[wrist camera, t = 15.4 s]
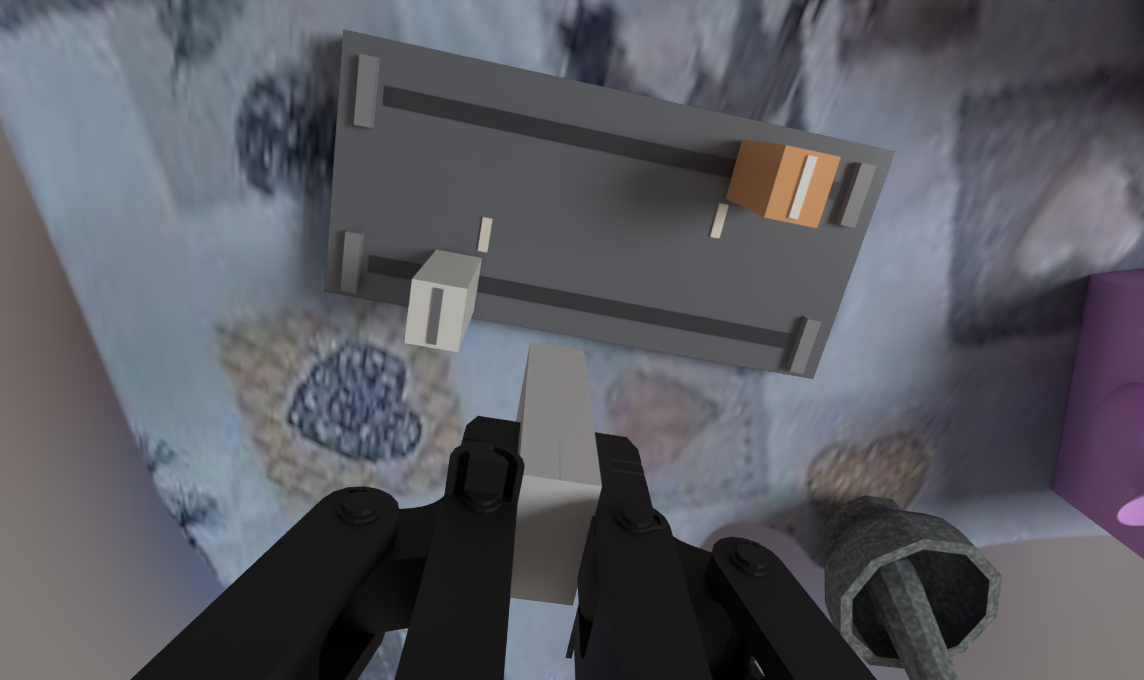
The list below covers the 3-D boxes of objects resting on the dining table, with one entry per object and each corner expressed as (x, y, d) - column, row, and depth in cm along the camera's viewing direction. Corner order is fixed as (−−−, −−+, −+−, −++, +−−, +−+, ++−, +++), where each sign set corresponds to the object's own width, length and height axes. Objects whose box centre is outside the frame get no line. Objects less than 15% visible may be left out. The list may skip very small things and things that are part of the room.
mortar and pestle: (796, 483, 42) (886, 619, 30) (936, 463, 41) (1079, 593, 30) (799, 613, 45) (881, 778, 34) (927, 596, 45) (1052, 755, 34)
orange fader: (742, 139, 31) (787, 145, 25) (787, 148, 32) (842, 157, 26) (725, 198, 32) (765, 217, 26) (769, 207, 33) (818, 228, 27)
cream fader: (436, 249, 33) (411, 279, 27) (482, 258, 33) (467, 289, 27) (429, 303, 34) (403, 343, 28) (473, 311, 34) (457, 353, 28)
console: (357, 35, 32) (339, 27, 29) (872, 148, 34) (901, 152, 31) (338, 280, 36) (320, 294, 33) (797, 363, 39) (817, 383, 36)
